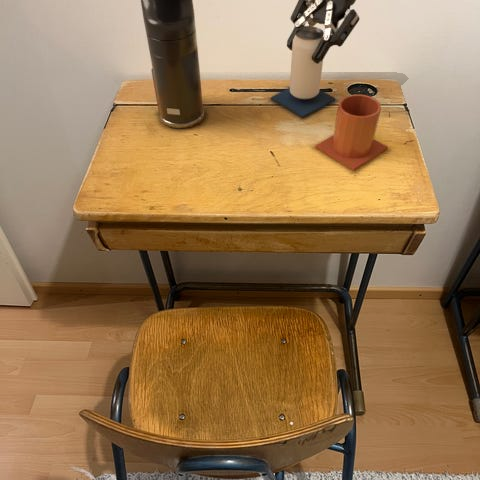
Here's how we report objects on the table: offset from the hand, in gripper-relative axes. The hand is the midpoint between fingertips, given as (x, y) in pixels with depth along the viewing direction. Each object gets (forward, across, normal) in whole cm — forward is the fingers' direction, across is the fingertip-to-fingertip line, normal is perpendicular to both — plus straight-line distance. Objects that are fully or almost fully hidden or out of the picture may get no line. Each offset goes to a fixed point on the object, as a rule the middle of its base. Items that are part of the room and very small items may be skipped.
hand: (302, 54), depth 93 cm
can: (+5, 0, +7) cm, 9 cm away
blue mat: (+6, 0, +8) cm, 10 cm away
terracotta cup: (+10, +19, +4) cm, 22 cm away
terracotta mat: (+10, +19, +4) cm, 22 cm away
